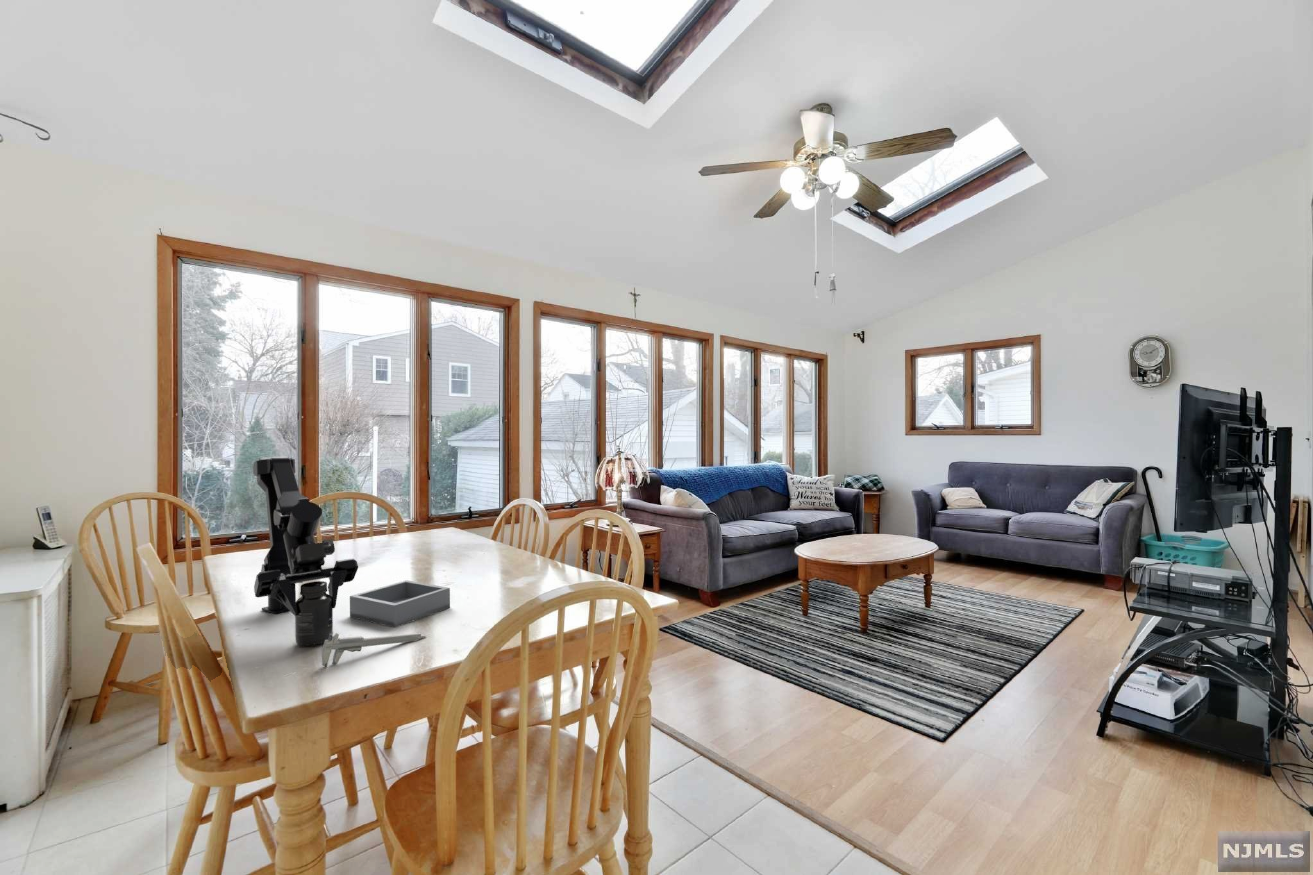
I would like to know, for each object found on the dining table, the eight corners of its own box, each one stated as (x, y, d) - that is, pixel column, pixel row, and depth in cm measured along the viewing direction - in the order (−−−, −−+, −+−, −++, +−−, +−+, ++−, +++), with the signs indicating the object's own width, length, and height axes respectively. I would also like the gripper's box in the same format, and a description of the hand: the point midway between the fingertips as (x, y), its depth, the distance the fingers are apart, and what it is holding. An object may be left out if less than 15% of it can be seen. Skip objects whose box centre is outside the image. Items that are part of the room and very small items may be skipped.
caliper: (324, 669, 108) (323, 636, 108) (321, 668, 108) (321, 635, 108) (426, 638, 123) (426, 609, 123) (423, 637, 124) (423, 608, 124)
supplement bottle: (339, 638, 122) (338, 582, 121) (305, 649, 116) (305, 590, 116) (322, 632, 125) (321, 577, 125) (288, 642, 120) (288, 585, 119)
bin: (350, 616, 137) (349, 596, 137) (406, 599, 151) (406, 580, 151) (394, 627, 130) (394, 605, 130) (450, 607, 144) (449, 587, 144)
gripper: (256, 533, 116) (268, 599, 109) (355, 522, 129) (372, 580, 122) (249, 564, 122) (260, 629, 115) (344, 551, 135) (360, 608, 128)
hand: (315, 610), depth 120 cm, fingers closed on supplement bottle, 7 cm apart
